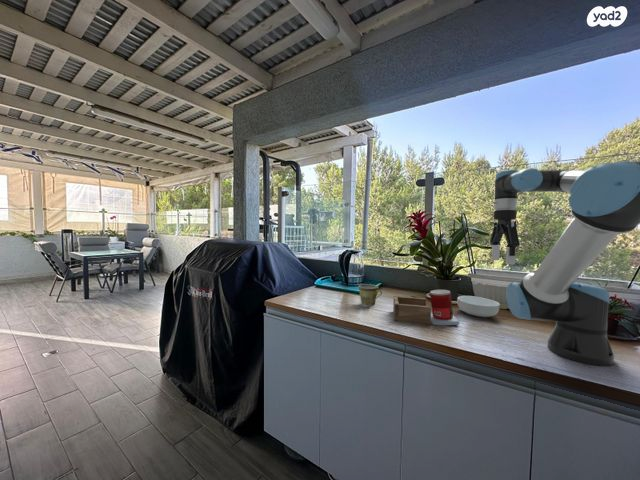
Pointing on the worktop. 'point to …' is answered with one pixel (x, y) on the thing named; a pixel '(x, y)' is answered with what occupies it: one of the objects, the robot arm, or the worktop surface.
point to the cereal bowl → (478, 306)
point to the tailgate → (444, 321)
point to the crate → (411, 310)
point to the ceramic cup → (368, 294)
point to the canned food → (441, 304)
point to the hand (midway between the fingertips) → (502, 262)
